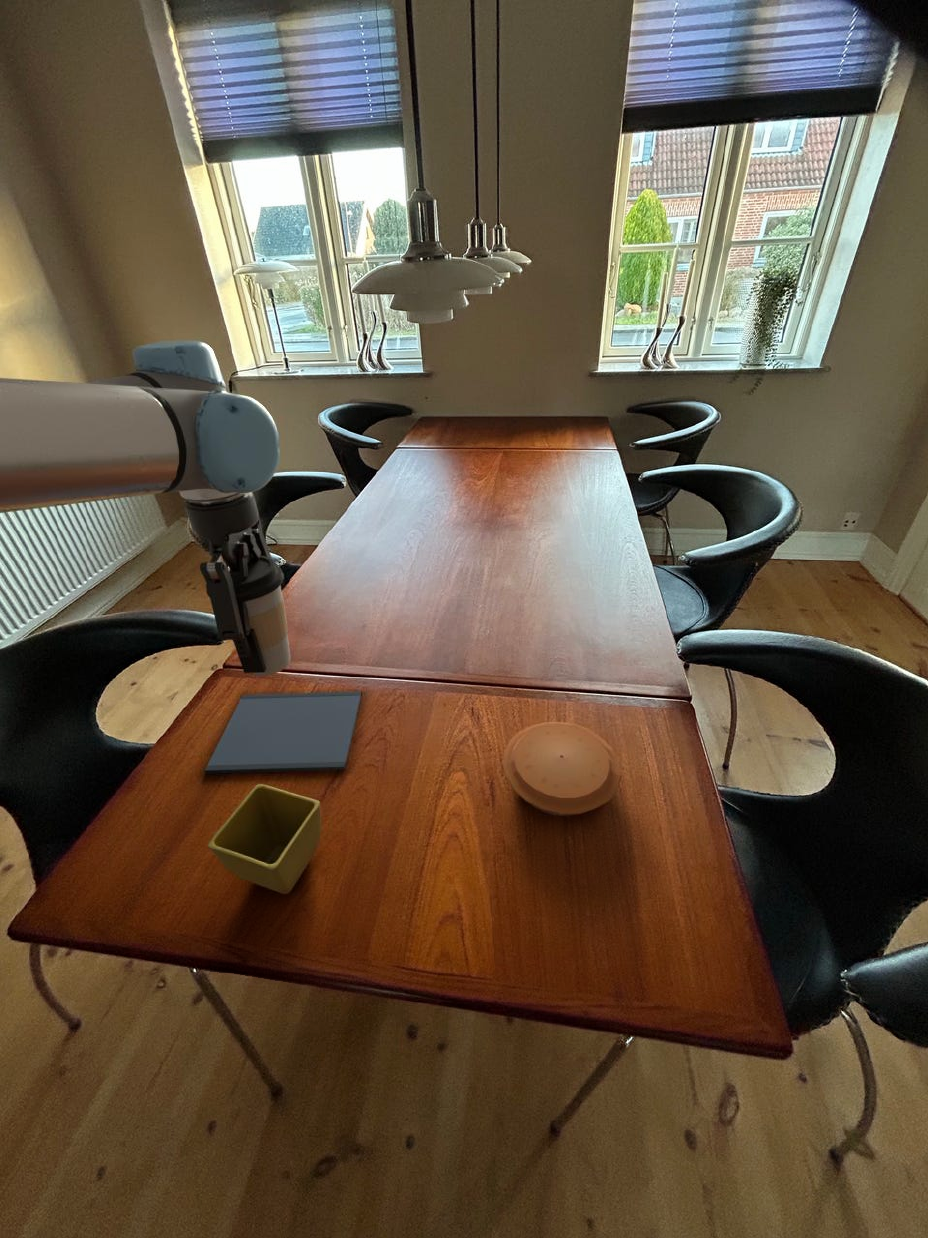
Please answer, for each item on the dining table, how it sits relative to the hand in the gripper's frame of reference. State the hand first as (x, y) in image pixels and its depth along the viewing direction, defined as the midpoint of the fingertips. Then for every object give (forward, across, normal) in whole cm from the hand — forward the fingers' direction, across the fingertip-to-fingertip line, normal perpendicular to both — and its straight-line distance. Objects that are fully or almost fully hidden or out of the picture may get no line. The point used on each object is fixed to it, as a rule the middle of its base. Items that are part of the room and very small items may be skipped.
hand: (265, 650), depth 73 cm
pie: (+16, -11, -40) cm, 44 cm away
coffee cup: (+2, 0, 0) cm, 2 cm away
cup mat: (+16, 0, 0) cm, 16 cm away
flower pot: (+16, -23, -5) cm, 28 cm away
